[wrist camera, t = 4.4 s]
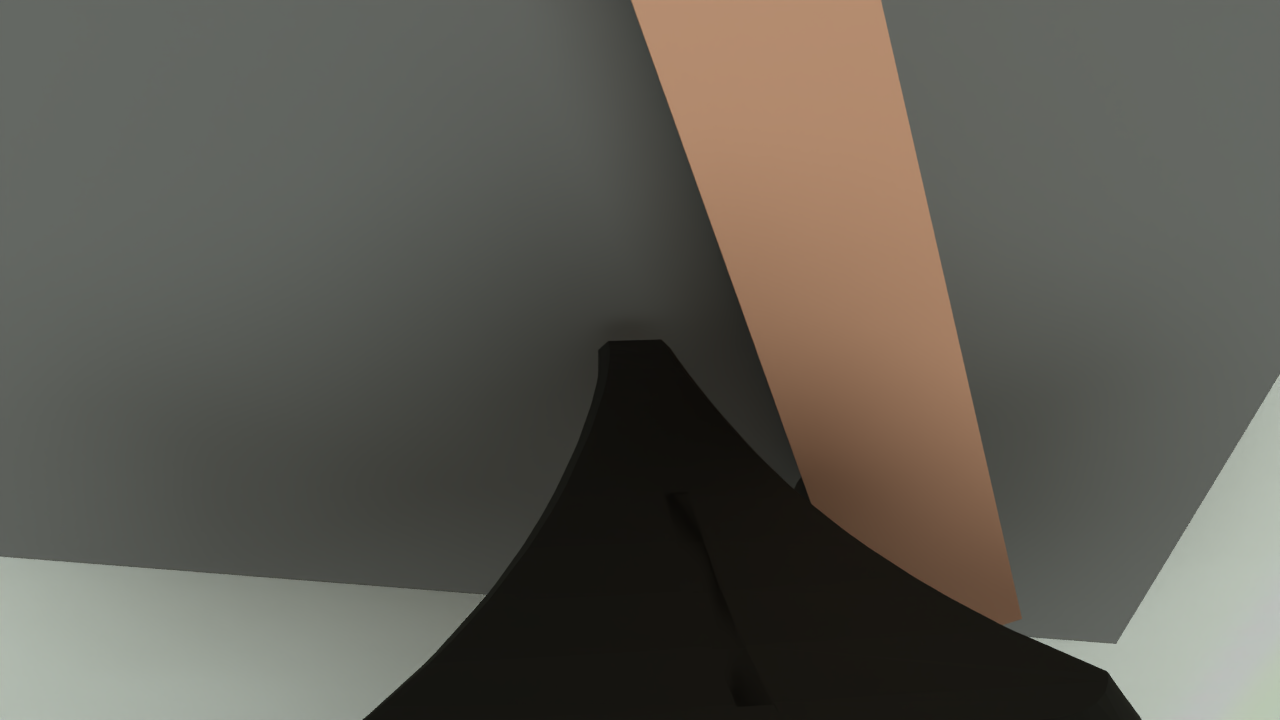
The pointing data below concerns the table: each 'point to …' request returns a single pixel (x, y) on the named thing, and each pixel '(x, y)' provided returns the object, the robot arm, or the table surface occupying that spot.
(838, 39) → the tan rectangular bar
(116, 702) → the table surface
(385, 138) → the mat
